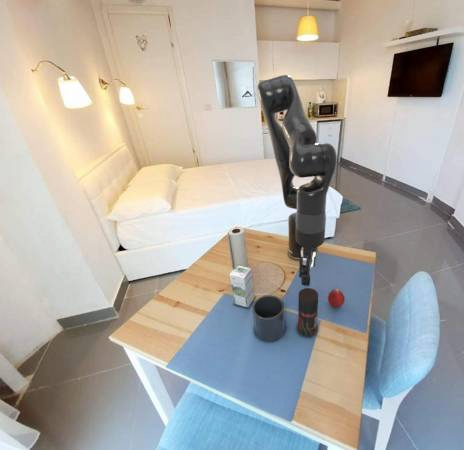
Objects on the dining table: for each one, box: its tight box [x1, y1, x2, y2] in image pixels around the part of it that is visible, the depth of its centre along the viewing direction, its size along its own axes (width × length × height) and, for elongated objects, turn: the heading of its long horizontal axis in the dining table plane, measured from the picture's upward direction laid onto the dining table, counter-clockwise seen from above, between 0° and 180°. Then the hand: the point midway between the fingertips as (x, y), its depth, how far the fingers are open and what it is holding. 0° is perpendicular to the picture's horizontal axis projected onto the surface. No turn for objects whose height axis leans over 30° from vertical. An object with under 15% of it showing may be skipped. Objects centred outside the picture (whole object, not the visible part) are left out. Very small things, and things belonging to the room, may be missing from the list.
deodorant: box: [297, 287, 319, 337], centre depth 79 cm, size 6×6×15 cm
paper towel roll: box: [227, 226, 249, 271], centre depth 102 cm, size 7×6×21 cm
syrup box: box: [229, 265, 255, 308], centre depth 90 cm, size 6×6×14 cm
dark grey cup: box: [251, 294, 286, 342], centre depth 80 cm, size 10×10×10 cm
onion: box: [327, 288, 346, 308], centre depth 88 cm, size 6×6×8 cm
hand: (308, 274), depth 71 cm, fingers open, 8 cm apart
